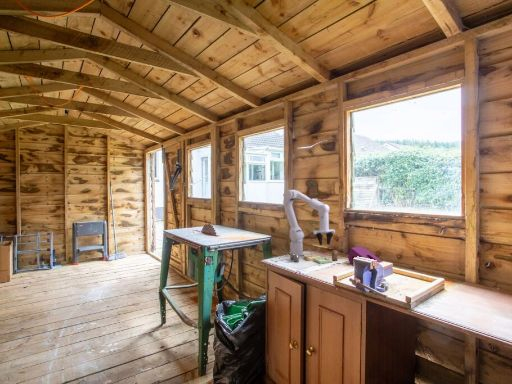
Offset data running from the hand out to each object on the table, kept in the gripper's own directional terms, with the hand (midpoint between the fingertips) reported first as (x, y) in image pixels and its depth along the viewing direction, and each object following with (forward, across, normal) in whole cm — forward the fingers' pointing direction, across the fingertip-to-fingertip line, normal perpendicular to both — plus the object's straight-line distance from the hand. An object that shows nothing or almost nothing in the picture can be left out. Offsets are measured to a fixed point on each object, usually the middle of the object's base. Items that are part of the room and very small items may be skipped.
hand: (324, 244), depth 187 cm
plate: (+9, -9, 0) cm, 13 cm away
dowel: (+8, +2, -8) cm, 12 cm away
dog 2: (+8, -21, -2) cm, 23 cm away
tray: (+8, -6, -8) cm, 13 cm away
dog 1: (+8, -21, +2) cm, 23 cm away
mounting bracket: (+9, +13, -25) cm, 29 cm away
